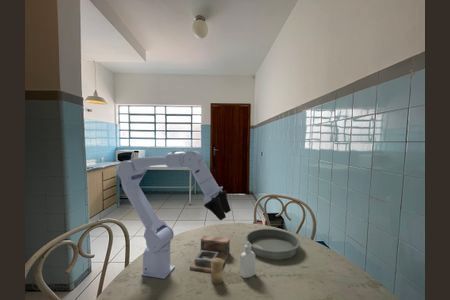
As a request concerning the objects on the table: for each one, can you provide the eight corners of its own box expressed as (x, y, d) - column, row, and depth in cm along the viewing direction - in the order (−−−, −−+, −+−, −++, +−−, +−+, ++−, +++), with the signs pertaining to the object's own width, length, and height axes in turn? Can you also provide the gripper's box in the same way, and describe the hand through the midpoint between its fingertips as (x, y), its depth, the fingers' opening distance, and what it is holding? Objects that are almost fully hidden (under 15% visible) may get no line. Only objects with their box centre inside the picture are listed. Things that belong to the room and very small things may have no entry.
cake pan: (254, 233, 115) (254, 225, 115) (302, 242, 105) (302, 233, 105) (237, 254, 93) (237, 243, 93) (296, 267, 82) (296, 256, 82)
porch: (189, 269, 81) (189, 252, 81) (203, 249, 96) (203, 235, 96) (219, 273, 78) (219, 256, 78) (229, 253, 94) (229, 238, 93)
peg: (209, 283, 73) (209, 262, 73) (213, 276, 77) (213, 257, 76) (220, 285, 72) (221, 264, 72) (223, 278, 76) (223, 258, 76)
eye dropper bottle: (239, 271, 80) (239, 239, 80) (254, 271, 80) (254, 239, 79) (240, 278, 75) (240, 244, 75) (256, 278, 75) (256, 244, 75)
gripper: (208, 178, 67) (231, 216, 65) (220, 173, 81) (239, 204, 79) (191, 189, 68) (212, 226, 67) (205, 182, 82) (223, 213, 81)
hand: (225, 215), depth 73 cm, fingers open, 7 cm apart
